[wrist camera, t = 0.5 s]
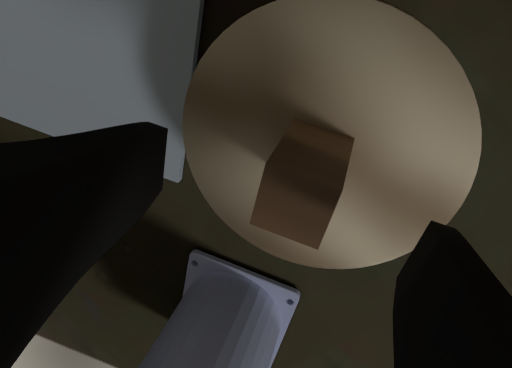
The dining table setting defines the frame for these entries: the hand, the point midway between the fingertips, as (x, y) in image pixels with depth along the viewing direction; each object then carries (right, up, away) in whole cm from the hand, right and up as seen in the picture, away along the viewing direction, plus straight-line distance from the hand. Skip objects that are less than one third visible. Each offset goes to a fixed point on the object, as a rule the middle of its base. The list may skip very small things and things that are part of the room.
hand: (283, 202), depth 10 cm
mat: (-10, +9, +11) cm, 18 cm away
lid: (+2, +2, +6) cm, 6 cm away
